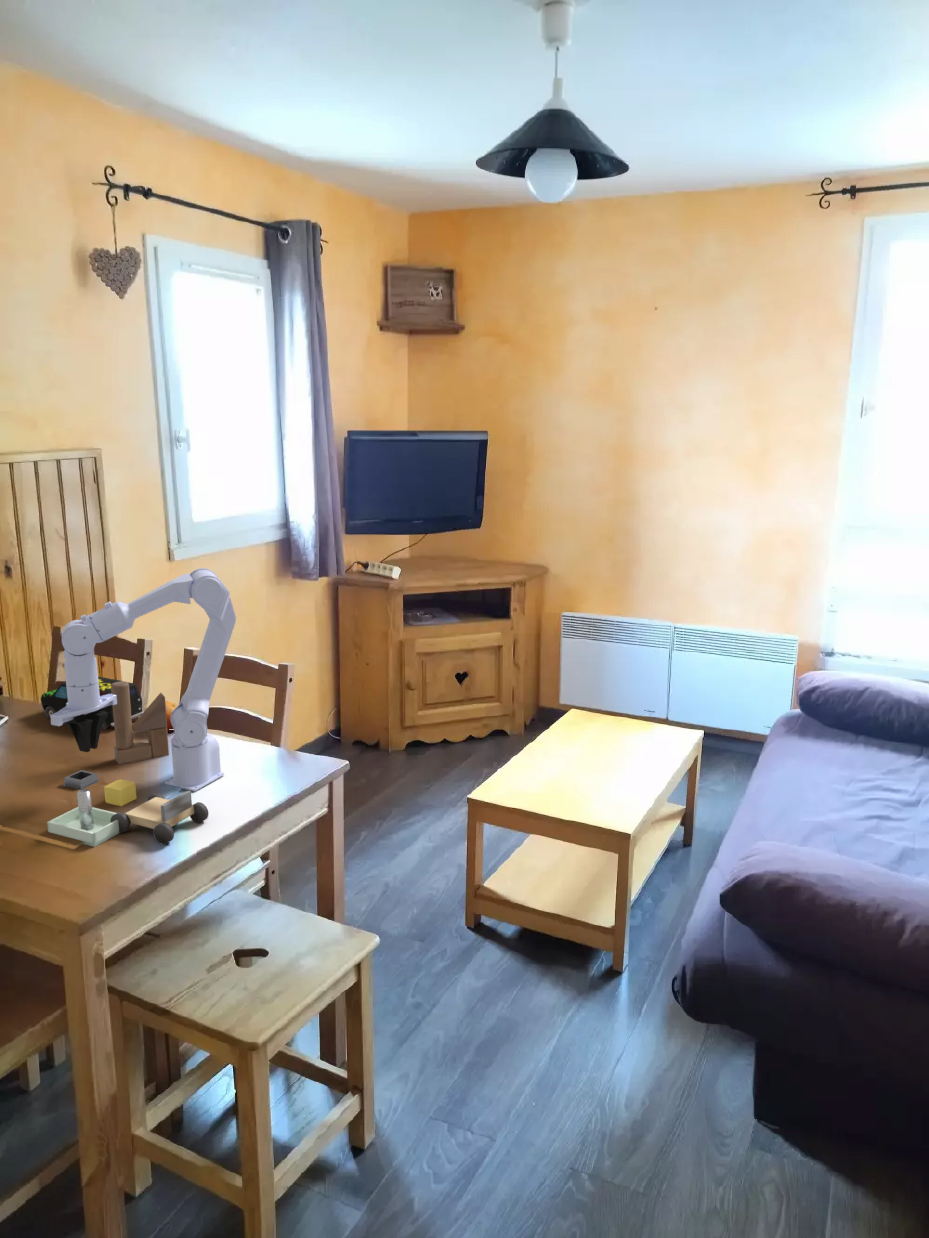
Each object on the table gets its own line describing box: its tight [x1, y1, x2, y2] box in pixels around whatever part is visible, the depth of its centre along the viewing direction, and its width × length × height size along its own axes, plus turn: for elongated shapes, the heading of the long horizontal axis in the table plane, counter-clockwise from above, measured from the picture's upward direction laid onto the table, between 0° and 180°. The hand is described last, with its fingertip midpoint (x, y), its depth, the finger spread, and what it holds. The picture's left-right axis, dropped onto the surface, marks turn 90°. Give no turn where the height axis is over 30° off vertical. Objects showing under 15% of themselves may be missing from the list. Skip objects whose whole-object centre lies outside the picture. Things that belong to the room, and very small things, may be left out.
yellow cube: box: [103, 778, 137, 807], centre depth 173 cm, size 4×4×4 cm
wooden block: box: [111, 680, 170, 765], centre depth 193 cm, size 4×11×18 cm, turn 121°
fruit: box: [165, 700, 179, 733], centre depth 212 cm, size 8×8×8 cm
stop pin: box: [76, 788, 94, 830], centre depth 161 cm, size 2×2×7 cm
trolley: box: [111, 790, 209, 845], centre depth 163 cm, size 10×14×6 cm
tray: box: [46, 806, 120, 848], centre depth 161 cm, size 8×11×2 cm
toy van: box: [40, 676, 145, 730], centre depth 219 cm, size 11×25×10 cm, turn 65°
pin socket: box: [62, 769, 101, 791], centre depth 181 cm, size 5×5×2 cm
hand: (88, 749), depth 174 cm, fingers closed
